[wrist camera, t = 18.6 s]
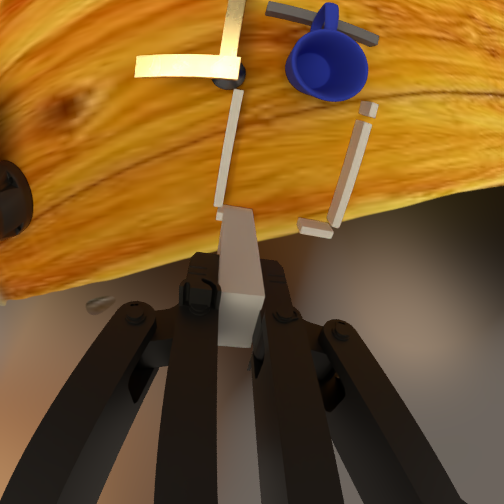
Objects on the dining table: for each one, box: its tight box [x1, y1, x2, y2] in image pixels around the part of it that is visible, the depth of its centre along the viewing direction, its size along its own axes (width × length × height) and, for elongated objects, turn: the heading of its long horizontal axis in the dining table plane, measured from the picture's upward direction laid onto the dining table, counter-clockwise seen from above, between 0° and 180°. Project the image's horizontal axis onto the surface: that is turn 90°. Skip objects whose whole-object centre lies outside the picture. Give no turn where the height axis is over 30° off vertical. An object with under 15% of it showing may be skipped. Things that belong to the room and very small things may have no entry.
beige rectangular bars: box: [214, 89, 378, 239], centre depth 35 cm, size 18×21×4 cm
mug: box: [285, 2, 368, 102], centre depth 25 cm, size 8×12×10 cm
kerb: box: [265, 1, 379, 47], centre depth 26 cm, size 15×2×2 cm, turn 79°
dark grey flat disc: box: [212, 63, 246, 90], centre depth 30 cm, size 4×4×1 cm
